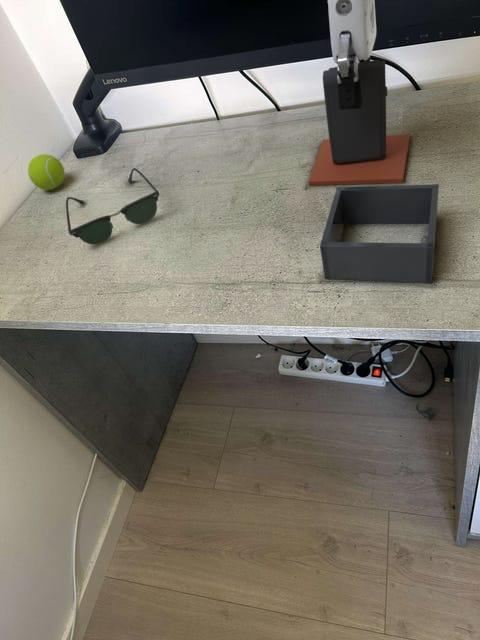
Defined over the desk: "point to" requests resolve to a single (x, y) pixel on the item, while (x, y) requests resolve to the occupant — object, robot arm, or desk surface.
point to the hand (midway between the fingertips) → (355, 91)
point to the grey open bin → (380, 257)
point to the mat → (362, 166)
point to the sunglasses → (102, 226)
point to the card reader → (358, 116)
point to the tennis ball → (46, 172)
